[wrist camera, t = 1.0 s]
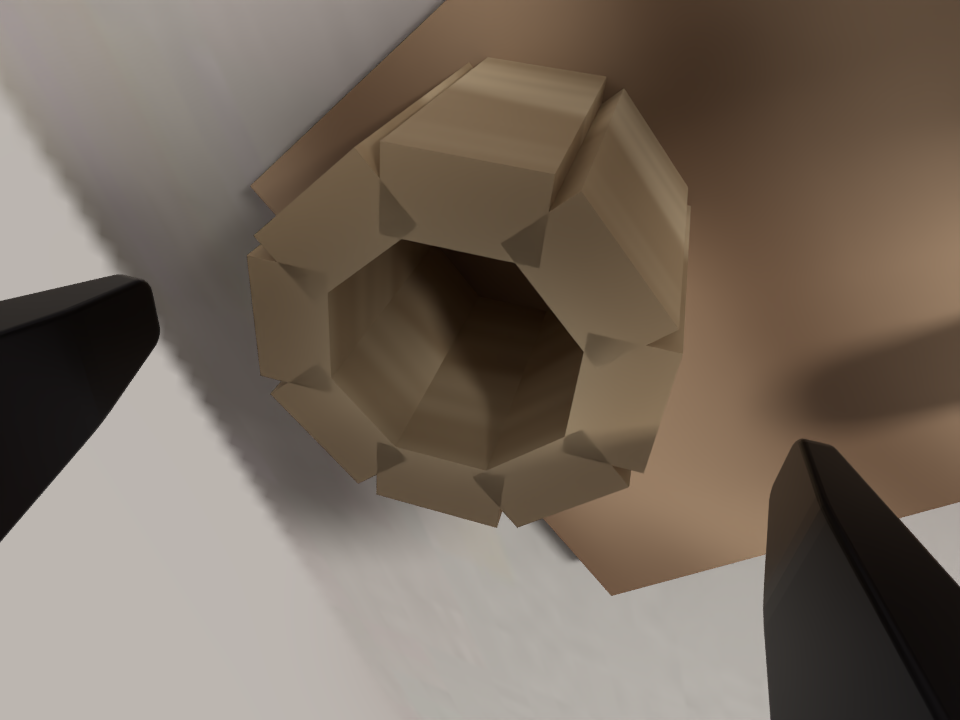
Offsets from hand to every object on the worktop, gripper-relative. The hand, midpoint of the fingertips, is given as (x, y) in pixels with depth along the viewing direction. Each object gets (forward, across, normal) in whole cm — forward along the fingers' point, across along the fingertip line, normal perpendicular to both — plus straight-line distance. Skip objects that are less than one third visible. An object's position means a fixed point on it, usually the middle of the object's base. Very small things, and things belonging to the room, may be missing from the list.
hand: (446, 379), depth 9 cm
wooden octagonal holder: (+5, 0, 0) cm, 5 cm away
